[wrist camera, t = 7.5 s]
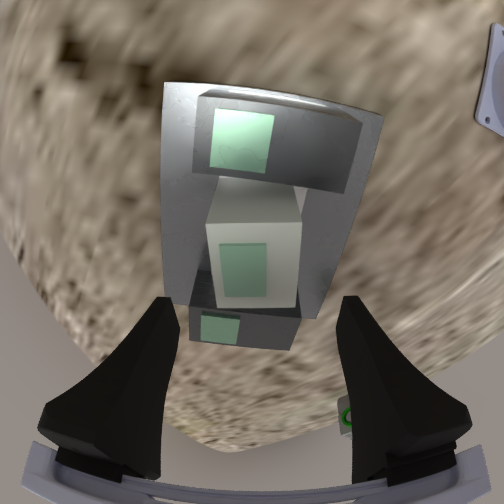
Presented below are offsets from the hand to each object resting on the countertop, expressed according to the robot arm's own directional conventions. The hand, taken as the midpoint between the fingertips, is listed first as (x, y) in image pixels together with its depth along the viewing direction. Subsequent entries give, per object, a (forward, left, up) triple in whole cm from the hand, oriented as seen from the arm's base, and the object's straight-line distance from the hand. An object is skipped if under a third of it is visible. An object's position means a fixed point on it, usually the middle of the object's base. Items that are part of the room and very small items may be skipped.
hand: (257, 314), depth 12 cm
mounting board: (0, 0, -9) cm, 9 cm away
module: (0, -1, -7) cm, 7 cm away
